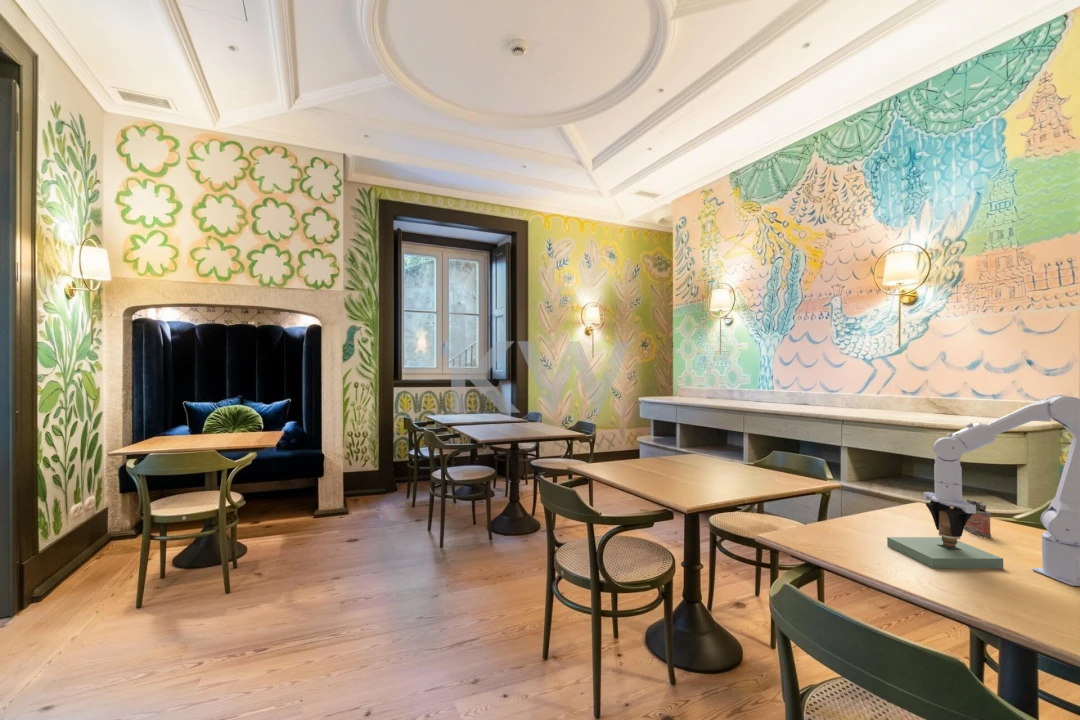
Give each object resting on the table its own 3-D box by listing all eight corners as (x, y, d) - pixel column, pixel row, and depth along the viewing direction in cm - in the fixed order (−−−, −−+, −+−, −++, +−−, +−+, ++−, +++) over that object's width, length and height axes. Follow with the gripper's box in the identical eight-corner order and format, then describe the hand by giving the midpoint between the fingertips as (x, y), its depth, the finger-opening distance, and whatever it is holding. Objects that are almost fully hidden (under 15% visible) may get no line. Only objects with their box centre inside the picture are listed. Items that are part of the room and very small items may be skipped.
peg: (964, 549, 129) (965, 515, 130) (948, 548, 129) (948, 514, 129) (950, 543, 134) (950, 510, 134) (934, 543, 134) (934, 510, 134)
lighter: (994, 538, 146) (994, 504, 147) (983, 538, 147) (982, 504, 147) (971, 529, 154) (971, 497, 155) (960, 529, 155) (960, 497, 155)
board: (1003, 568, 123) (1003, 558, 123) (932, 568, 123) (932, 558, 123) (949, 546, 139) (949, 537, 139) (887, 545, 139) (887, 537, 139)
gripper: (912, 476, 139) (913, 524, 139) (956, 488, 125) (957, 542, 124) (937, 476, 139) (937, 524, 139) (983, 488, 125) (984, 542, 124)
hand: (948, 532), depth 132 cm, fingers closed on peg, 4 cm apart
